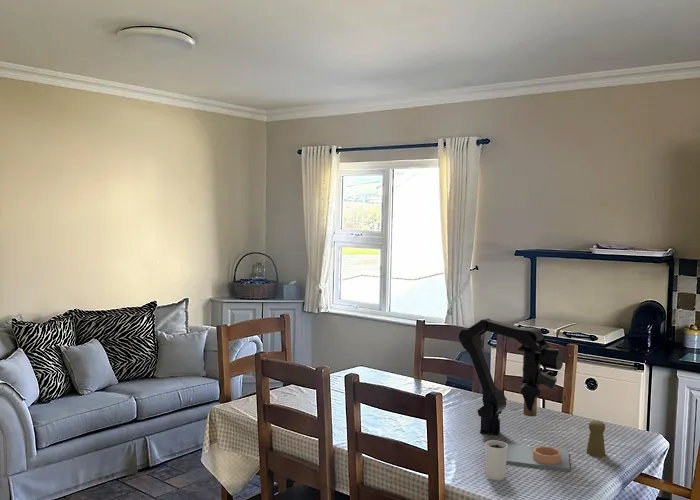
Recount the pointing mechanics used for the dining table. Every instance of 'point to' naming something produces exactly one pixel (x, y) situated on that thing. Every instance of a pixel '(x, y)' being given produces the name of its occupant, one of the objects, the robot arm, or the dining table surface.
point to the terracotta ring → (546, 455)
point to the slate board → (525, 458)
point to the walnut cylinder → (534, 409)
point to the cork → (596, 439)
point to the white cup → (496, 459)
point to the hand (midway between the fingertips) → (530, 408)
